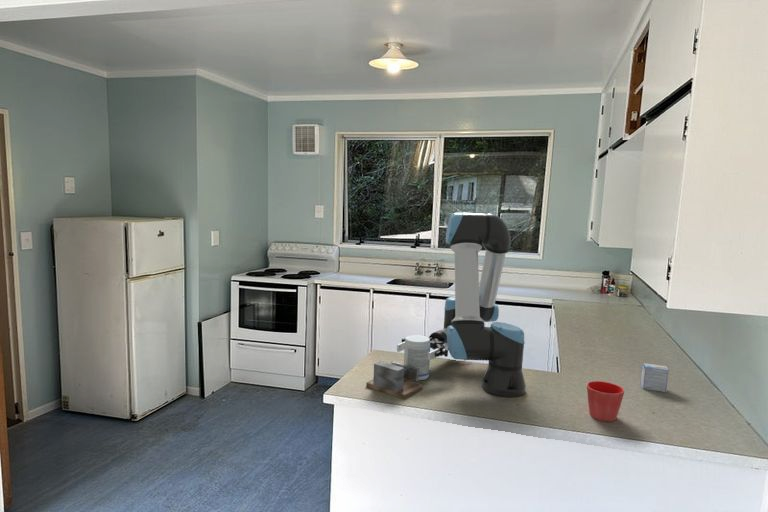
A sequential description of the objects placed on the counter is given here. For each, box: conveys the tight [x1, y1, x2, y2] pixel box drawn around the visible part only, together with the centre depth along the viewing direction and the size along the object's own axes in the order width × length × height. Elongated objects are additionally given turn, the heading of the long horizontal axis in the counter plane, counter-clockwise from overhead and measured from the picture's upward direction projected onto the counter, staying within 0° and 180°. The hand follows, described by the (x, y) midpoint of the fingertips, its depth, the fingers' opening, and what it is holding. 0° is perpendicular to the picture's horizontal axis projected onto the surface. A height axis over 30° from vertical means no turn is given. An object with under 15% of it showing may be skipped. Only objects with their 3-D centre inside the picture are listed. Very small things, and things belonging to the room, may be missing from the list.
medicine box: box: [640, 363, 670, 393], centre depth 177 cm, size 8×4×9 cm, turn 71°
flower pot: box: [586, 380, 625, 422], centre depth 152 cm, size 11×11×10 cm
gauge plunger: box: [390, 360, 420, 383], centre depth 171 cm, size 12×6×4 cm, turn 54°
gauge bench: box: [365, 360, 424, 400], centre depth 168 cm, size 16×12×9 cm
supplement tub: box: [403, 334, 431, 381], centre depth 179 cm, size 10×10×15 cm
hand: (413, 352), depth 176 cm, fingers open, 13 cm apart
